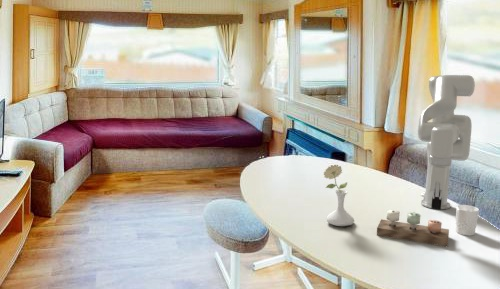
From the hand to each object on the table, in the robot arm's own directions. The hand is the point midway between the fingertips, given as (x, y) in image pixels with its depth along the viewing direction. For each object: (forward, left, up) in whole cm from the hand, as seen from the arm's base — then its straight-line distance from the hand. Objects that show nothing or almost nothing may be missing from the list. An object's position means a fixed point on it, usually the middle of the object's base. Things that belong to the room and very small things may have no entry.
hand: (436, 208), depth 162 cm
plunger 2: (-5, -6, -10) cm, 12 cm away
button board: (-5, -6, -12) cm, 14 cm away
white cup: (-1, +16, -12) cm, 20 cm away
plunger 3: (+1, -1, -12) cm, 12 cm away
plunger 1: (-10, -11, -10) cm, 18 cm away
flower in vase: (-26, -26, -12) cm, 39 cm away
